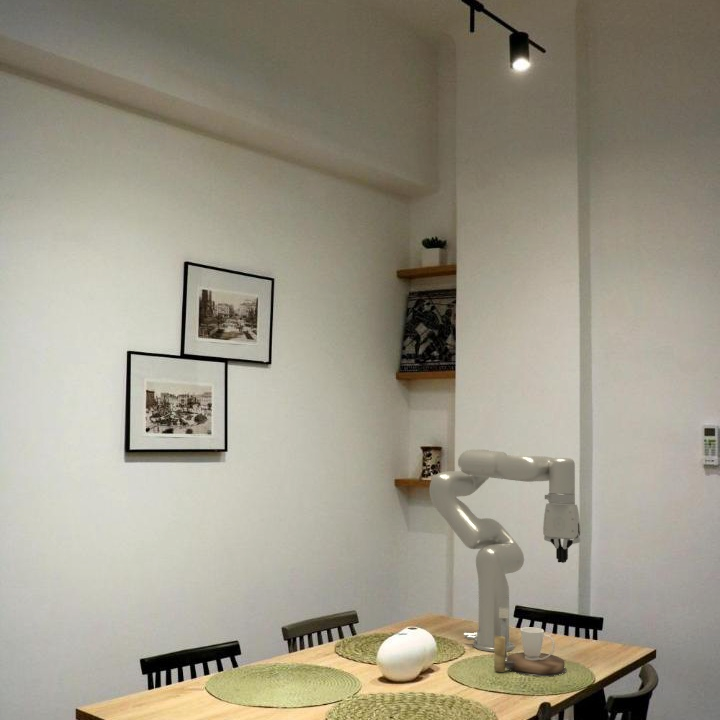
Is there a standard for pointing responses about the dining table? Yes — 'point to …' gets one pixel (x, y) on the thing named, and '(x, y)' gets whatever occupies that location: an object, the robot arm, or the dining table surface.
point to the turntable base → (537, 674)
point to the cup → (533, 642)
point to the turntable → (524, 661)
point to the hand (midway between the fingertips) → (562, 561)
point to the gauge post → (504, 625)
